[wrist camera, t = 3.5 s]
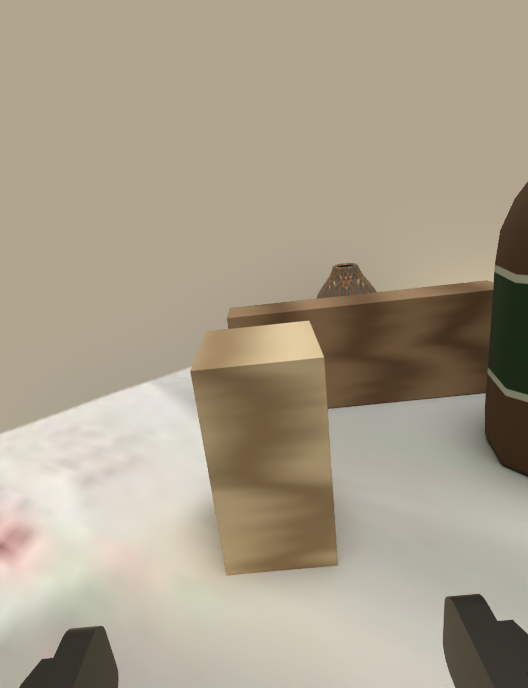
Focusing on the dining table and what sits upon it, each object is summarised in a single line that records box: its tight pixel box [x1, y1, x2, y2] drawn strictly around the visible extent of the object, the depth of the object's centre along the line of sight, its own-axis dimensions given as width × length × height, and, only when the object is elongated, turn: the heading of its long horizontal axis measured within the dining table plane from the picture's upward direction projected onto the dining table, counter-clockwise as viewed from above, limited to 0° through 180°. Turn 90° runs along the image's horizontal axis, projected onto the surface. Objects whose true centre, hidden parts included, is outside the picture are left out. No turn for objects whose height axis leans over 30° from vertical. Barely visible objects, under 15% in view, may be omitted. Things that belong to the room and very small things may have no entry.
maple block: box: [190, 321, 338, 575], centre depth 20 cm, size 5×5×10 cm
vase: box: [317, 263, 376, 299], centre depth 43 cm, size 7×7×9 cm
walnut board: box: [227, 281, 494, 408], centre depth 32 cm, size 20×3×8 cm, turn 90°
